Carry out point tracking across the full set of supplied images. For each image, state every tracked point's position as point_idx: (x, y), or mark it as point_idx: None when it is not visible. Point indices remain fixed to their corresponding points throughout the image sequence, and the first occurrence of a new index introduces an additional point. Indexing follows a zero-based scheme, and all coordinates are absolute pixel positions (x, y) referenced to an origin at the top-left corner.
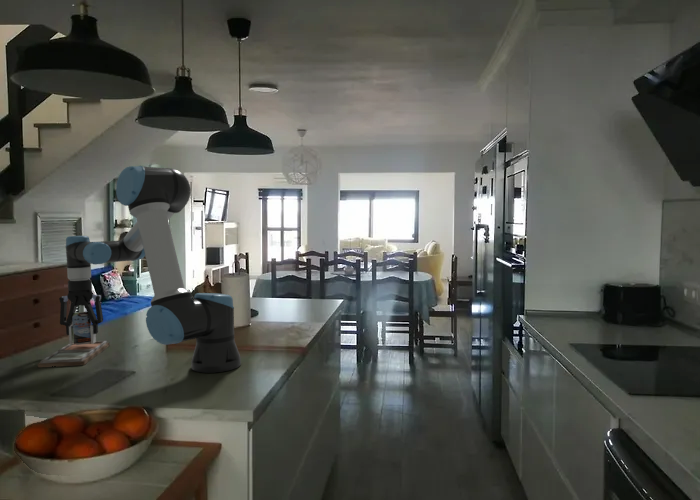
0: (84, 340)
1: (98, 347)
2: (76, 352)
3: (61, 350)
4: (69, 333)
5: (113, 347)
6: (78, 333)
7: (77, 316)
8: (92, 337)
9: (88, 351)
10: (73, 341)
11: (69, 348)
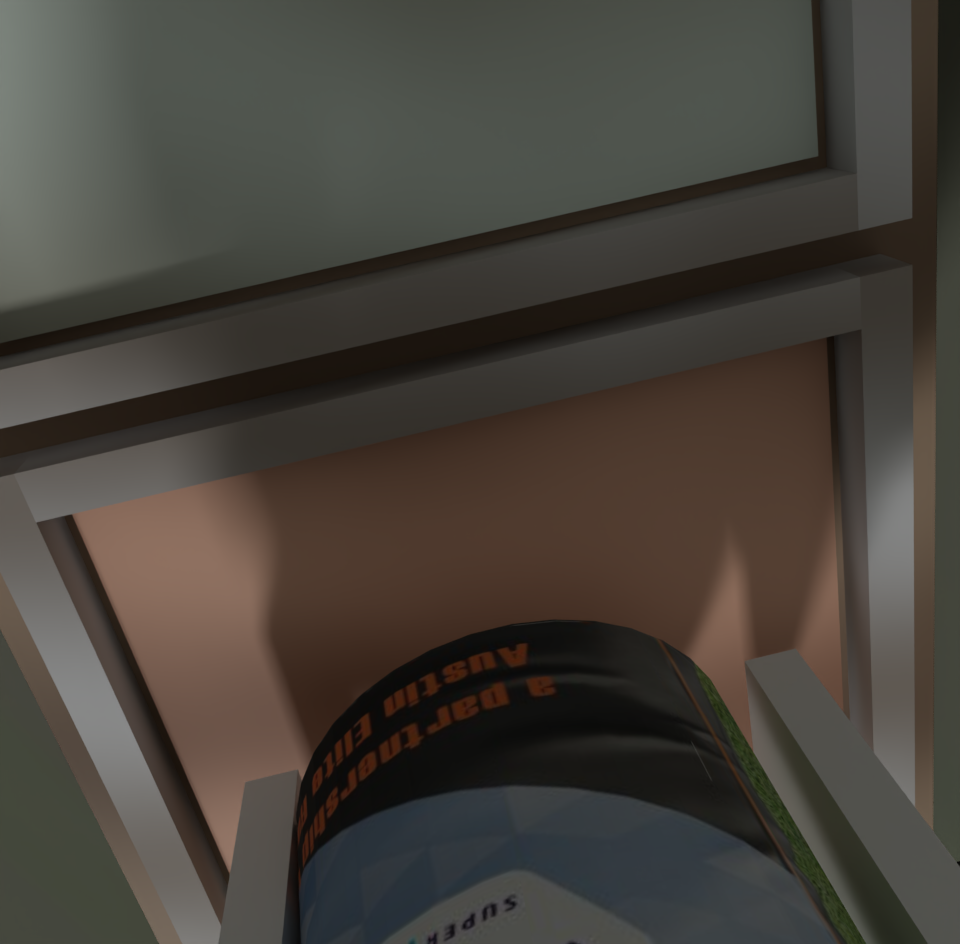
0: (376, 722)
1: (60, 676)
2: (383, 272)
3: (823, 305)
4: (956, 880)
5: (71, 940)
6: (584, 858)
7: None
8: (238, 914)
9: (76, 346)
10: (721, 702)
11: (776, 614)
